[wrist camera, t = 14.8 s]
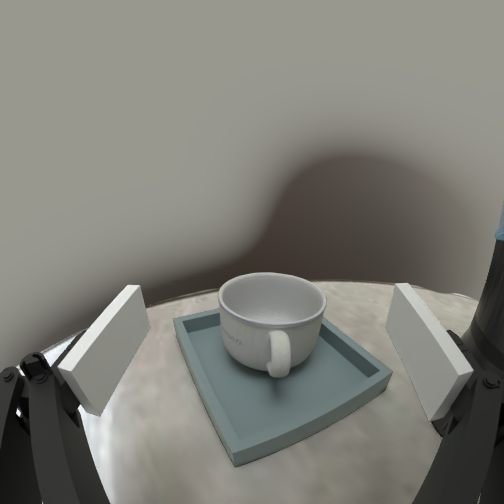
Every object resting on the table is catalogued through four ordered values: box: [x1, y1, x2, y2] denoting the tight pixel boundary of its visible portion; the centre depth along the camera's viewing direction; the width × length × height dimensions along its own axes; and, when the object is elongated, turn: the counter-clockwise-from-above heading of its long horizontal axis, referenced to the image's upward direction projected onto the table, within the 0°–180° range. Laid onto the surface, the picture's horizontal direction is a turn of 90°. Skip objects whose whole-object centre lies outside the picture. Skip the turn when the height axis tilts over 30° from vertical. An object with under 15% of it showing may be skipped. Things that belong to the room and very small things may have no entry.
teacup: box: [218, 272, 327, 378], centre depth 27 cm, size 14×11×8 cm
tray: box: [173, 308, 393, 467], centre depth 28 cm, size 17×20×3 cm
